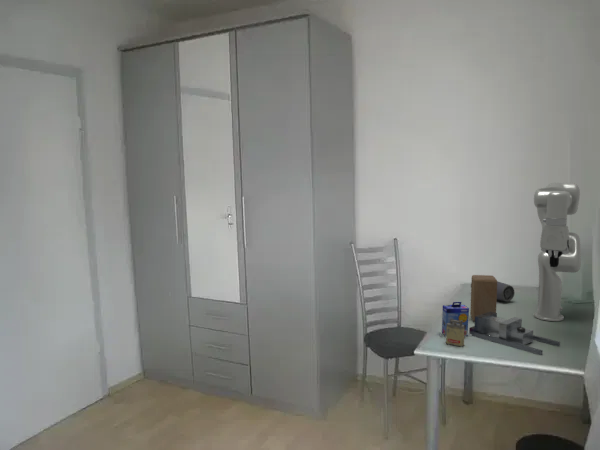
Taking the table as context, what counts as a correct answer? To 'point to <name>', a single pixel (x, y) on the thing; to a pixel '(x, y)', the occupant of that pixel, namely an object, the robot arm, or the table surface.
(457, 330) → the lighter
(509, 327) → the sliding jaw
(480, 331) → the frame
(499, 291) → the bluetooth speaker
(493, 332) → the steel block
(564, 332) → the table surface
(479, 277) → the block
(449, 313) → the ink cartridge box
